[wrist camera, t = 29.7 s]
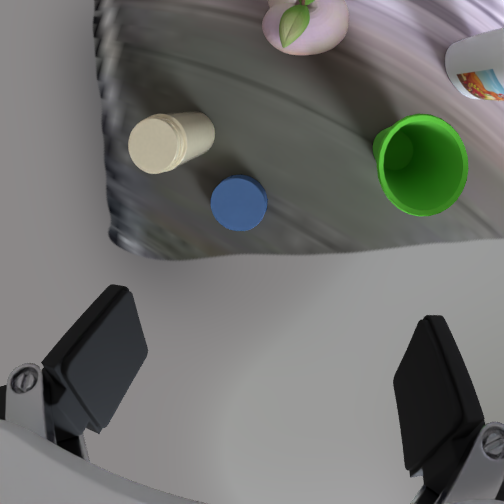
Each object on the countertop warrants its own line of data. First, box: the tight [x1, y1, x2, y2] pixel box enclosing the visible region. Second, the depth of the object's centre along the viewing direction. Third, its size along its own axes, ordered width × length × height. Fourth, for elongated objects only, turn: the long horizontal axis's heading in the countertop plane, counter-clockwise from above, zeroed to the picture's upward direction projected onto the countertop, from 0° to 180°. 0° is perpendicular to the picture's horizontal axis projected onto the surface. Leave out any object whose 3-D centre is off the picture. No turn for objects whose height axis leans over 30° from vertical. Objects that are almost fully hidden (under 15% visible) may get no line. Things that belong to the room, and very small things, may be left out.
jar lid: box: [211, 174, 268, 231], centre depth 36 cm, size 7×7×2 cm
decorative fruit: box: [262, 0, 349, 55], centre depth 21 cm, size 9×8×10 cm
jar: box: [128, 111, 215, 174], centre depth 29 cm, size 6×6×11 cm
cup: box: [373, 114, 468, 216], centre depth 26 cm, size 9×9×11 cm
